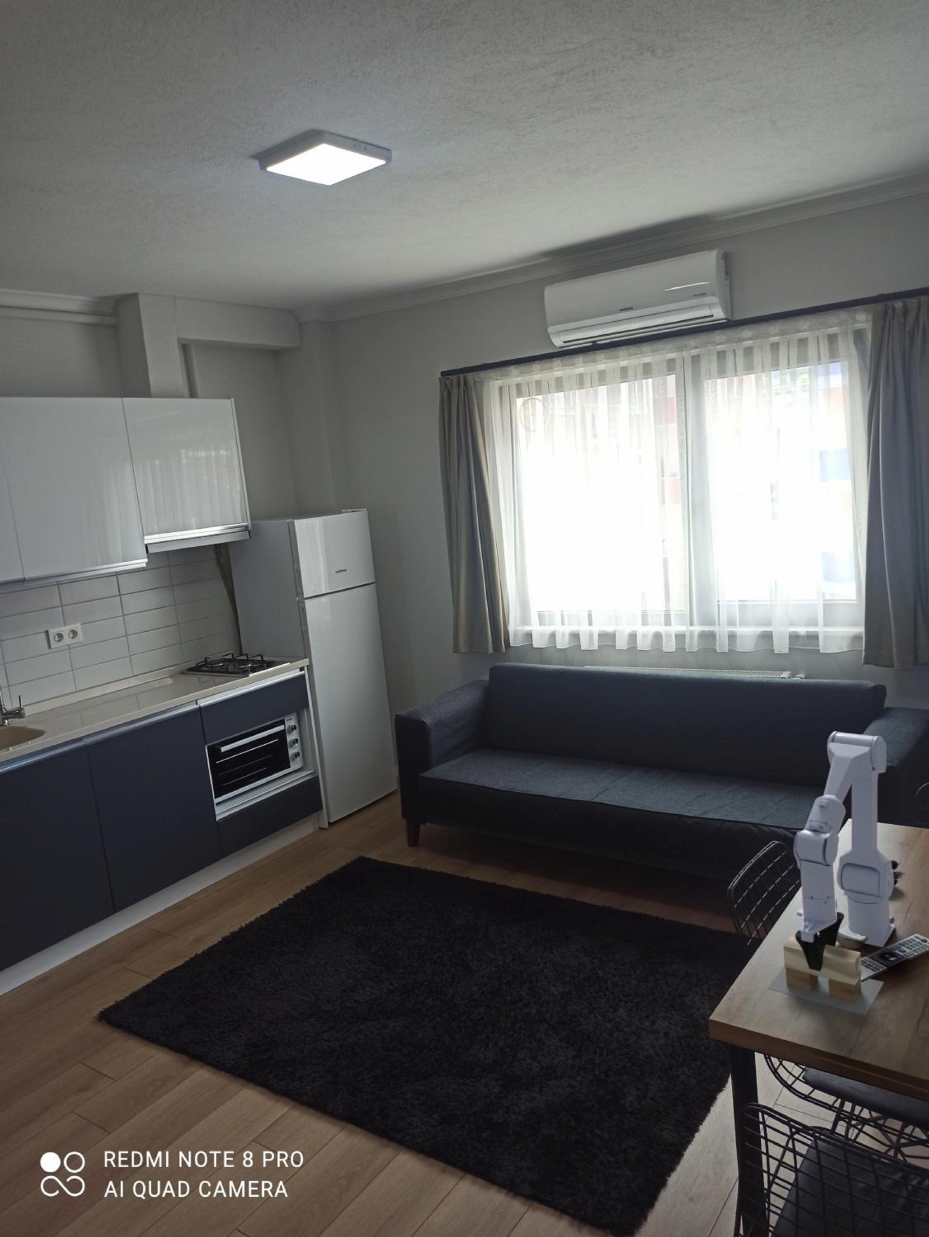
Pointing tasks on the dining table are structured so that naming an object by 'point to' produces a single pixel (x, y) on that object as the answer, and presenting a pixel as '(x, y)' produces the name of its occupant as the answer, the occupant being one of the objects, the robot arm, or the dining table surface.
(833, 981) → the block
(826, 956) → the plank
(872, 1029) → the dining table surface
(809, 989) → the block
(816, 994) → the mat
